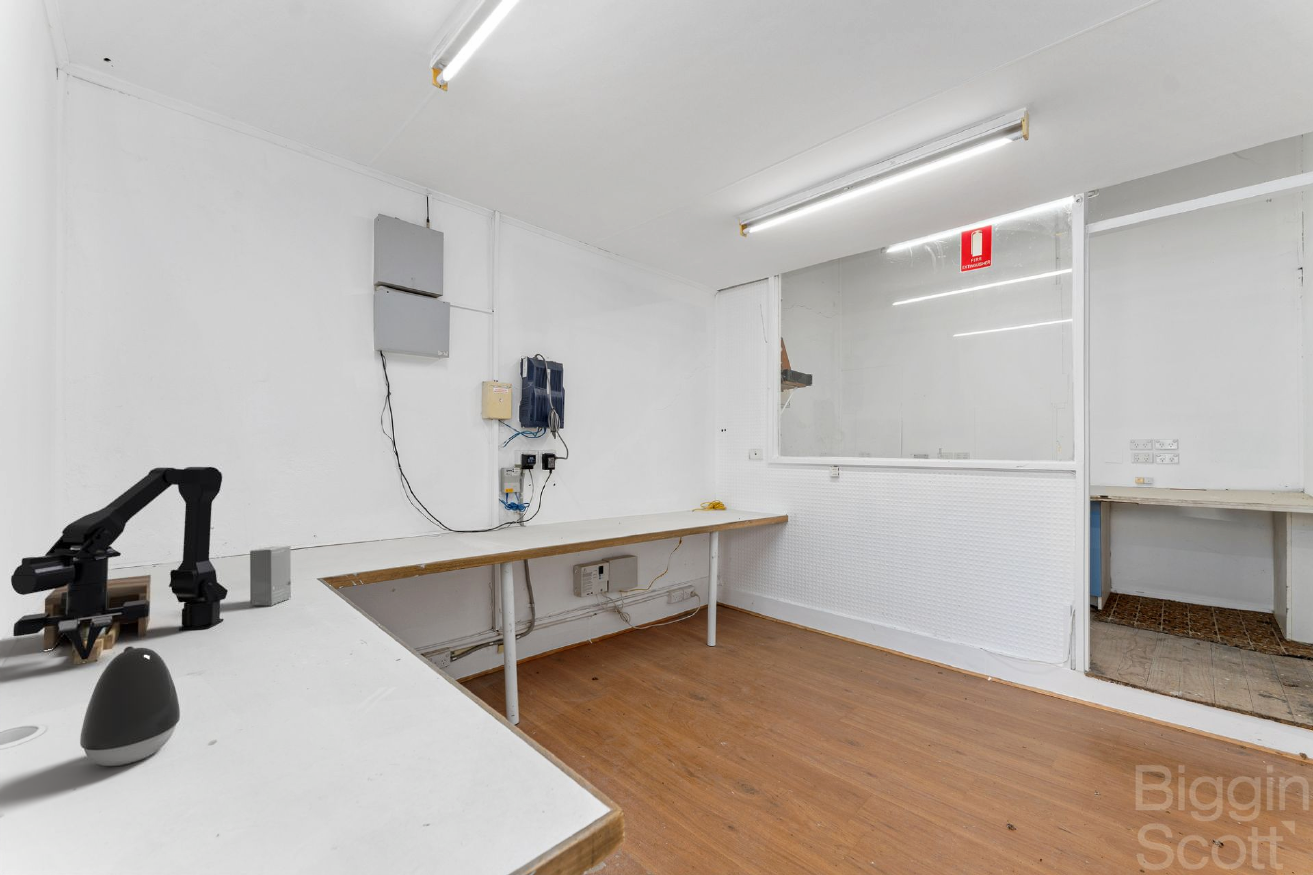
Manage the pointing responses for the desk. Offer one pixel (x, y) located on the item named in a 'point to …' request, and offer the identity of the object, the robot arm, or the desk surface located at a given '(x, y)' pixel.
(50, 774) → the desk surface
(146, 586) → the wooden drawer organizer
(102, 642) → the tray
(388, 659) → the desk surface
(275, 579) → the skincare box
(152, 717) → the dark grey egg dome
